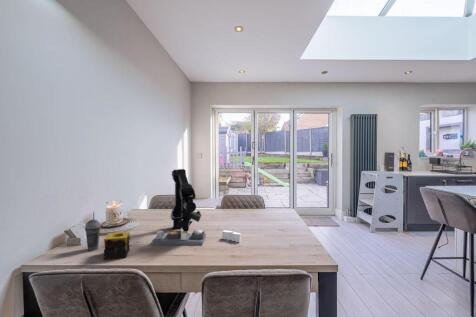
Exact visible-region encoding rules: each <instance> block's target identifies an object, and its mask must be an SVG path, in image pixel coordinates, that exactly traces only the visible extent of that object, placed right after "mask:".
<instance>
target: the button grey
mask: <svg viewBox="0 0 476 317" xmlns="http://www.w3.org/2000/svg"><path fill="white" fill-rule="evenodd" d="M193 231H194V235H202V231H203V230H202V229H194V230H193Z"/></svg>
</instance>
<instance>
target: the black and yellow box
mask: <svg viewBox="0 0 476 317" xmlns="http://www.w3.org/2000/svg"><path fill="white" fill-rule="evenodd" d="M130 238H131V236H130V231H118V232H108V234H107V236H106V237H105V238H104V239H103V241H104V249H103V260H104V261H105V260H116V259H125V258H127V257H128V255H129V252H130V247H131V245H130Z"/></svg>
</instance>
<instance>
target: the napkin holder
mask: <svg viewBox="0 0 476 317" xmlns="http://www.w3.org/2000/svg"><path fill="white" fill-rule="evenodd" d="M221 234H222V237H221V239H227V240H226V241H229V240H232V241H236V242H235V243H237V242H240V241H241V242H242V233H241V232H235V231H234V230H233V231H231V230H222V233H221ZM232 241H231V242H232ZM241 242H240V243H241Z"/></svg>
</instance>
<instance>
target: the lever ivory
mask: <svg viewBox="0 0 476 317" xmlns="http://www.w3.org/2000/svg"><path fill="white" fill-rule="evenodd" d="M188 233H189V230H188V231H181V240H187V239H188Z"/></svg>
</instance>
